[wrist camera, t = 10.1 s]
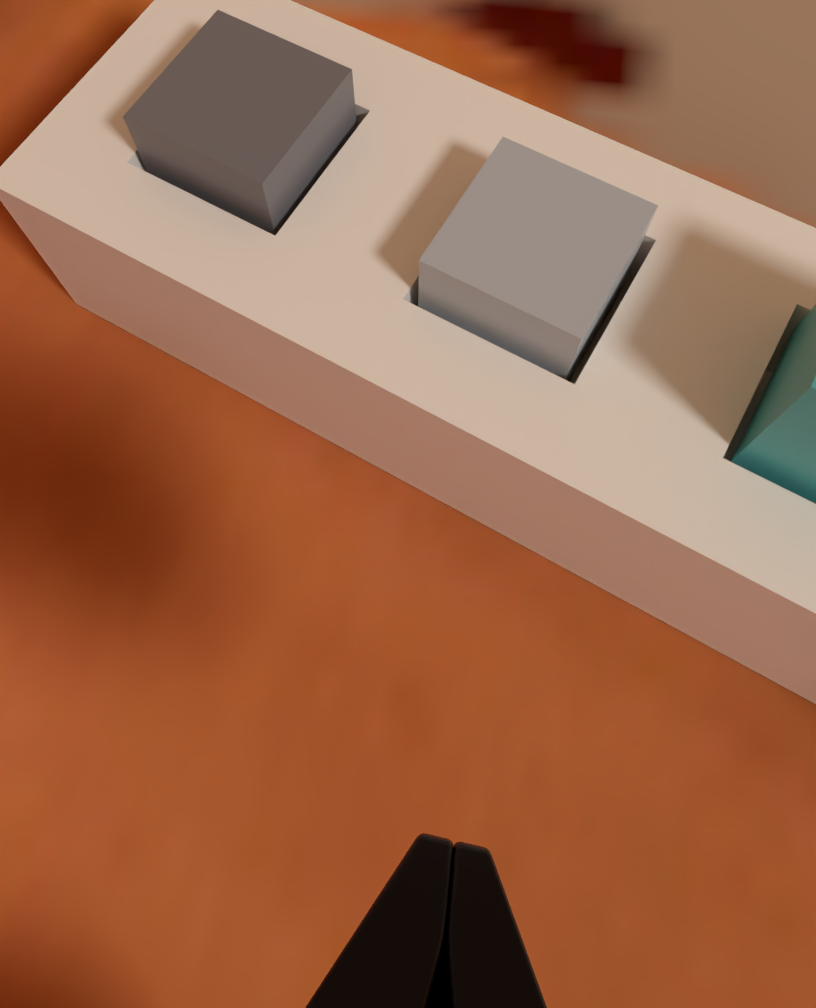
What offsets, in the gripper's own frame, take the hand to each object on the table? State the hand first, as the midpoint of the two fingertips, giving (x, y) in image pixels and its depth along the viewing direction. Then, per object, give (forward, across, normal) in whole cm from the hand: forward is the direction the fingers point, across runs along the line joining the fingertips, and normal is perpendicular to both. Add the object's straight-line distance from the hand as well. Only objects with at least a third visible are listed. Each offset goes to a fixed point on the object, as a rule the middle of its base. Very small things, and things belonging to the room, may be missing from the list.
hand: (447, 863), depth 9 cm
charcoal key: (+19, +9, -5) cm, 21 cm away
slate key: (+17, 0, -3) cm, 17 cm away
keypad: (+19, 0, -1) cm, 19 cm away
